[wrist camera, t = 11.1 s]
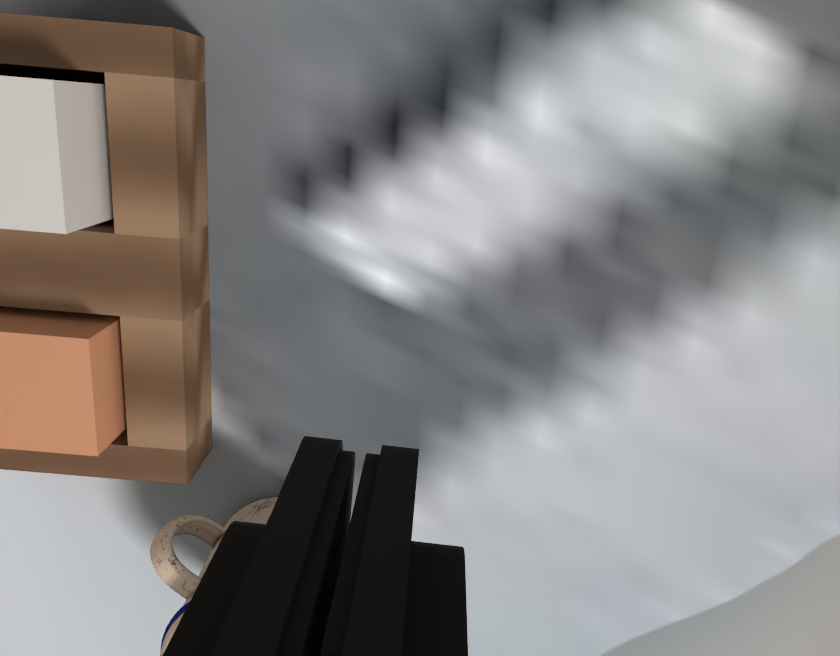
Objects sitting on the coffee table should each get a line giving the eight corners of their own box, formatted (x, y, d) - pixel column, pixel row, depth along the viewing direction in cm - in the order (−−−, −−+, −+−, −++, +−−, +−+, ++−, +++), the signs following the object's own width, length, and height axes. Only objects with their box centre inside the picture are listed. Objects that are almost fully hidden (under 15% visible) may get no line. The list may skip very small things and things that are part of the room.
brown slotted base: (-68, 14, 31) (-137, 1, 28) (204, 37, 32) (172, 27, 28) (-12, 429, 38) (-61, 463, 35) (212, 447, 38) (187, 484, 35)
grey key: (-18, 73, 30) (-103, 66, 25) (113, 85, 30) (52, 79, 25) (-3, 205, 32) (-80, 221, 27) (120, 216, 32) (65, 234, 27)
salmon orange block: (22, 298, 35) (-44, 328, 30) (136, 308, 35) (88, 339, 30) (33, 402, 37) (-27, 445, 32) (141, 411, 37) (97, 456, 32)
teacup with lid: (393, 554, 40) (377, 721, 29) (296, 638, 43) (247, 823, 31) (242, 429, 38) (163, 560, 27) (147, 525, 40) (38, 682, 29)
